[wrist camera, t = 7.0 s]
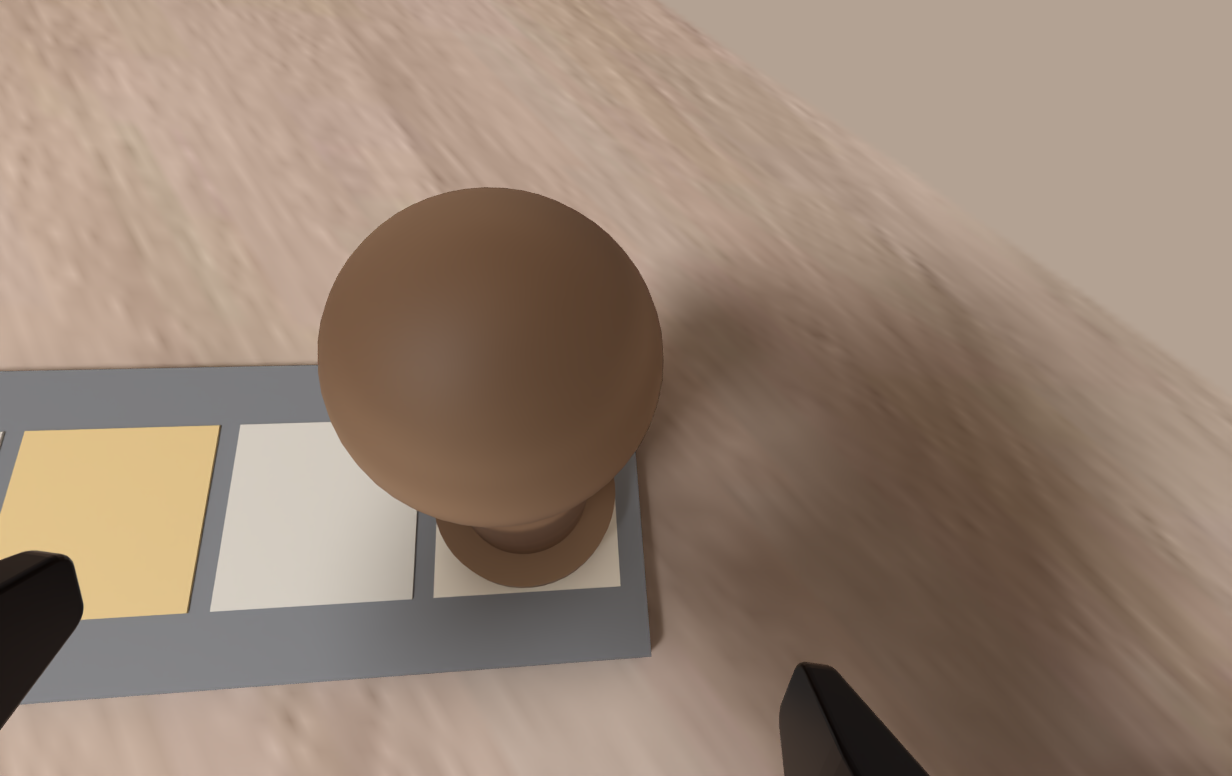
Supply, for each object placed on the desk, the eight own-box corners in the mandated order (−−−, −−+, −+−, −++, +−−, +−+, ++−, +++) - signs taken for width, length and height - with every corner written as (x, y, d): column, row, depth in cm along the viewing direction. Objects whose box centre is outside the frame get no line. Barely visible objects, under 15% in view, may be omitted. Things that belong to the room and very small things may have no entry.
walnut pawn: (636, 549, 18) (793, 408, 6) (469, 616, 17) (280, 594, 5) (577, 398, 19) (616, 56, 8) (420, 450, 18) (190, 143, 7)
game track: (625, 368, 21) (628, 358, 20) (647, 655, 18) (651, 656, 17) (-176, 385, 18) (-210, 374, 17) (-324, 728, 15) (-374, 734, 14)
